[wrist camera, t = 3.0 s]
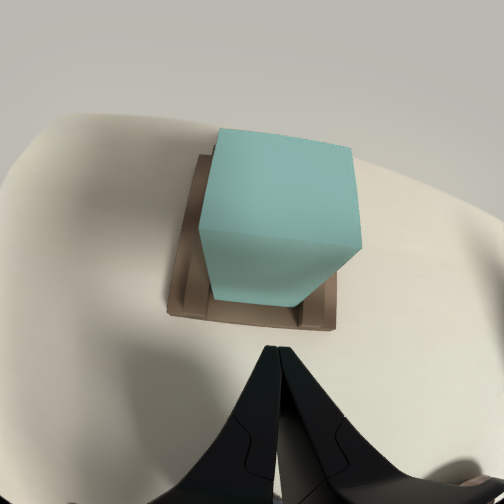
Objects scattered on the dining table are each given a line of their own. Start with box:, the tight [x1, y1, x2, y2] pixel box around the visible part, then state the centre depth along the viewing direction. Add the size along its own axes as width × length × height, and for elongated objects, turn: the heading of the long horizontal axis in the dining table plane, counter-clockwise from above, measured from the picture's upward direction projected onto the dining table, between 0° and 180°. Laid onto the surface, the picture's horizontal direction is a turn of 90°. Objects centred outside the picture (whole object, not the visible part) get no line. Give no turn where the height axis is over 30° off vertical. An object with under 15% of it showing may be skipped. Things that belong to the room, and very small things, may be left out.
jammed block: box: [198, 128, 362, 308], centre depth 16 cm, size 5×6×12 cm
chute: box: [167, 145, 337, 331], centre depth 22 cm, size 15×13×5 cm
